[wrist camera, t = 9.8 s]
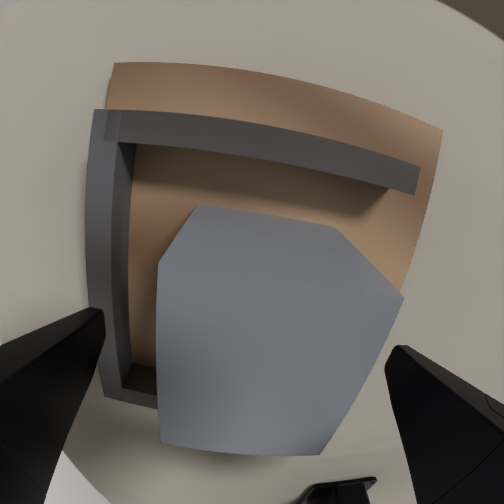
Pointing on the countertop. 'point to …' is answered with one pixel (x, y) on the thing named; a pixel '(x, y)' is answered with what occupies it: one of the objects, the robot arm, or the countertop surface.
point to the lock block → (264, 332)
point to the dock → (235, 183)
